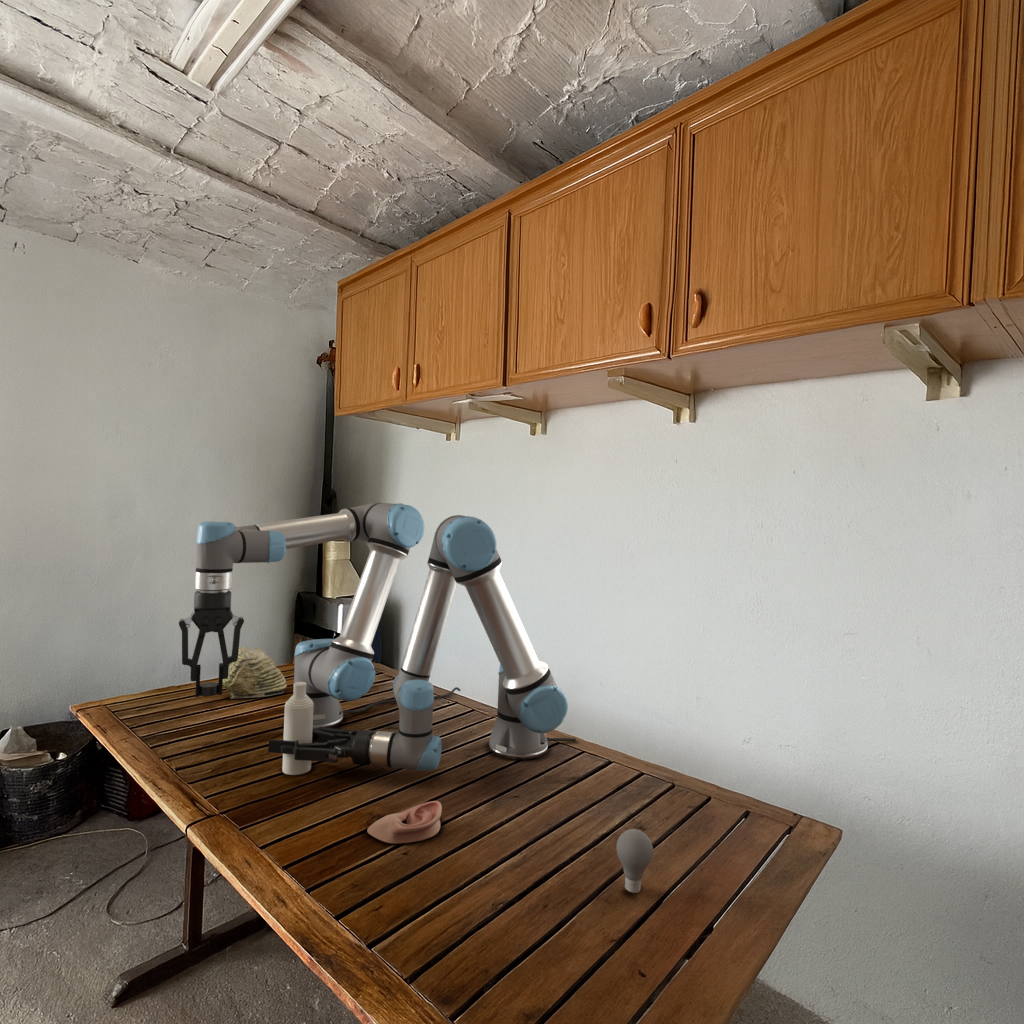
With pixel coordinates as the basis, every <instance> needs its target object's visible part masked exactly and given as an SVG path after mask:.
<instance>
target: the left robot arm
mask: <svg viewBox="0 0 1024 1024" xmlns="http://www.w3.org/2000/svg"><path fill="white" fill-rule="evenodd" d="M424 535H425V521H424V519H423V517H422V514H421V513H420V511H419V510H418V509H417V508H416V507H414V506H412V505H409V504H404V503H399V502H398V503H390V502H373V503H367V504H363V505H358V506H353V507H346V508H342V509H341V510H339V512H337V513H330V514H323V515H315V516H309V517H308V516H307V517H301V518H293V519H286V520H285V519H284V520H278V521H271V522H265V523H257V524H251V525H243V526H242V525H241V526H235V524H234V523H233V522H230V521H213V520H211V521H209V520H208V521H202V522H200V523H199V524H198V526H197V531H196V539H195V544H196V545H195V546H196V547H195V549H196V550H195V551H196V552H195V553H196V554H195V574H194V576H195V577H194V589H195V590H196V591H195V592H194V595H193V596H194V597H193V611H192V613H191V615H190V616H188V617H186V618H180V619H179V620H178V626H179V628H180V630H181V631H180V632H181V664H182V665H183V666H187V667H189V668H190V678H189V679H190V682H195V695H194V696H195V698H200V695H199V693H200V684H201V669H202V668H201V664H198V663H199V659H200V656H201V652H202V648H203V645H204V641H205V637H206V634H207V633H217V636H218V637H217V638H218V642H219V648H220V654H221V660H222V662H219V663H218V679H217V683H218V684H219V688H218V694H217V695H218V696H222V695H223V679H227V678H228V671H229V664H230V663H232V662H236V661H237V660H238V651H239V647H240V639H241V629H242V627H243V625H244V623H245V620H244V619H245V618H244V617H242V616H237V615H234V614H233V612H232V592H231V589H232V587H233V569H234V568H233V567H234V564H253V563H254V564H255V563H256V564H257V563H258V564H259V563H267V564H270V563H275V562H276V563H278V562H281V561H282V560H283V559H284V557H285V555H286V553H287V550H288V549H294V548H301V547H306V546H311V545H312V546H313V545H319V544H324V543H330V542H336V541H340V540H341V541H342V540H343V541H344V542H346V543H351V542H367V543H366V546H367V547H368V550H369V553H368V556H367V559H366V561H365V564H364V567H363V570H362V573H361V576H360V578H359V581H358V584H357V587H356V590H355V592H354V596H353V598H352V600H351V604H350V607H349V609H348V612H347V614H346V618H345V620H344V623H343V626H342V629H341V631H340V635H339V636H338V637H336V638H319V639H308V640H303V641H300V642H299V643H298V642H297V644H296V646H295V650H294V655H293V657H294V672H293V684H294V683H296V682H305V683H306V684H307V685H306V695H307V696H308V697H309V698H310V699H311V700H312V701H313V703H314V704H313V730H314V729H316V730H318V727H325V728H334V729H336V728H337V727H339V726H340V725H342V723H343V722H344V714H357V713H361V712H364V711H366V710H367V709H369V708H371V707H374V706H377V705H380V704H386V703H393V702H397V701H396V699H395V698H392V699H385V700H384V699H383V700H380V701H376V702H375V701H374V702H372V703H370V704H368V705H366V706H364V707H363V708H360V709H355V710H353V709H350V710H349V709H348V710H343V709H342V706H341V702H340V700H341V701H344V702H353V701H357V700H359V699H360V698H361V697H363V696H365V695H366V694H367V693H368V692H369V691H370V689H372V686H373V684H374V682H375V680H376V670H375V666H374V664H373V662H372V661H373V658H374V655H375V651H374V649H373V647H372V644H373V641H374V639H375V636H376V632H377V630H378V626H379V623H380V621H381V618H382V614H383V612H384V609H385V605H386V603H387V600H388V598H389V595H390V592H391V589H392V586H393V583H394V579H395V577H396V573H397V571H398V568H399V565H400V563H401V561H402V560H404V559H406V558H408V557H409V553H410V551H411V548H414V547H416V546H417V545H418V544H420V543H421V541H422V539H423V537H424ZM231 621H232V626H233V635H232V645H231V655H232V656H231V655H230V656H229V655H228V649H227V644H226V637H225V632H224V629H225V628H226V626H228V624H229V623H230V622H231ZM192 622H193V623H194V625H195V627H197V628H198V634H197V638H196V643H195V646H194V649H193V653H192V656H191V658H189V629H190V628H191V623H192ZM456 690H457V692H461V688H460V687H458V686H456V687H454V688H453V689H452V690H451V691H450V692H449V693H446V694H442V695H435V696H434V700H436V699H443V698H447V697H450V696H451V695H453V693H455V691H456Z"/></svg>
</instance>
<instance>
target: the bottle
mask: <svg viewBox="0 0 1024 1024" xmlns="http://www.w3.org/2000/svg"><path fill="white" fill-rule="evenodd" d="M306 685H307V684H306V683H305V682H296V683H294V682H293V686H292V687H293V694H291V696H290V697H289V699H287V700H286V701H285V704H284V714H283V715H284V716H283V729H284V738H283V737H282V740H286V741H297V740H299V742H298V744H302V743H312V730H313V704H314V703H313V701H312V700H311V699H310V698H309V697H308V696H307V695H306ZM281 766H282V767H281V770H282V771H281V772H282V773H283V774H285V775H290V776H299V775H304V774H306V773H308V772H309V771H311V769H312V761H307V760H294V754H282V765H281Z"/></svg>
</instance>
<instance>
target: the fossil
mask: <svg viewBox="0 0 1024 1024" xmlns="http://www.w3.org/2000/svg"><path fill="white" fill-rule="evenodd" d="M230 656H232V654H231V655H230ZM222 686H223V687H224V688H225V690H226V691H228V693H229V698H230V699H250V698H264V697H271V696H275V695H281V694H284V693H285V691H286V689H287V687H288V686H287V680H286V678H285V676H284V674H283V673H282V672H281V669H279V668H278V667H277V665H276V663H275V662H274V660H273V659H272V658H271V657H270V656H269V655H268V654H267V653H266V652H265V650H264V649H263V648H260V647H258V648H251V647H247V646H246V647H245V646H239V651H238V660H237V661H236V662H232V663H230V664H229V671H228V678H227V679H223V684H222Z"/></svg>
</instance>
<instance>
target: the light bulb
mask: <svg viewBox="0 0 1024 1024" xmlns="http://www.w3.org/2000/svg"><path fill="white" fill-rule="evenodd" d="M615 849H616V854H617V857H618V859H619V861H620V863H621V865H622V867H623V873H624V874H623V875H624V876H625V878H624V888H625V890H627V891H628V892H630V893H634V894H635V893H639V892H640V891H641V889H642V887H641V886H642V879H643V877H644V875H645V871H646V868H647V867H648V866H649V864H650V863H651V861H652V859H653V855H654V847H653V843H652V841H651V838H649V836H648V835H647V834H646V833H645V832H643V831H642V830H641V829H636V828H629V829H627V830H625V831H623V832H622V833H621V834H620V835H619V837H618V839H617V841H616V847H615Z"/></svg>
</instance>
